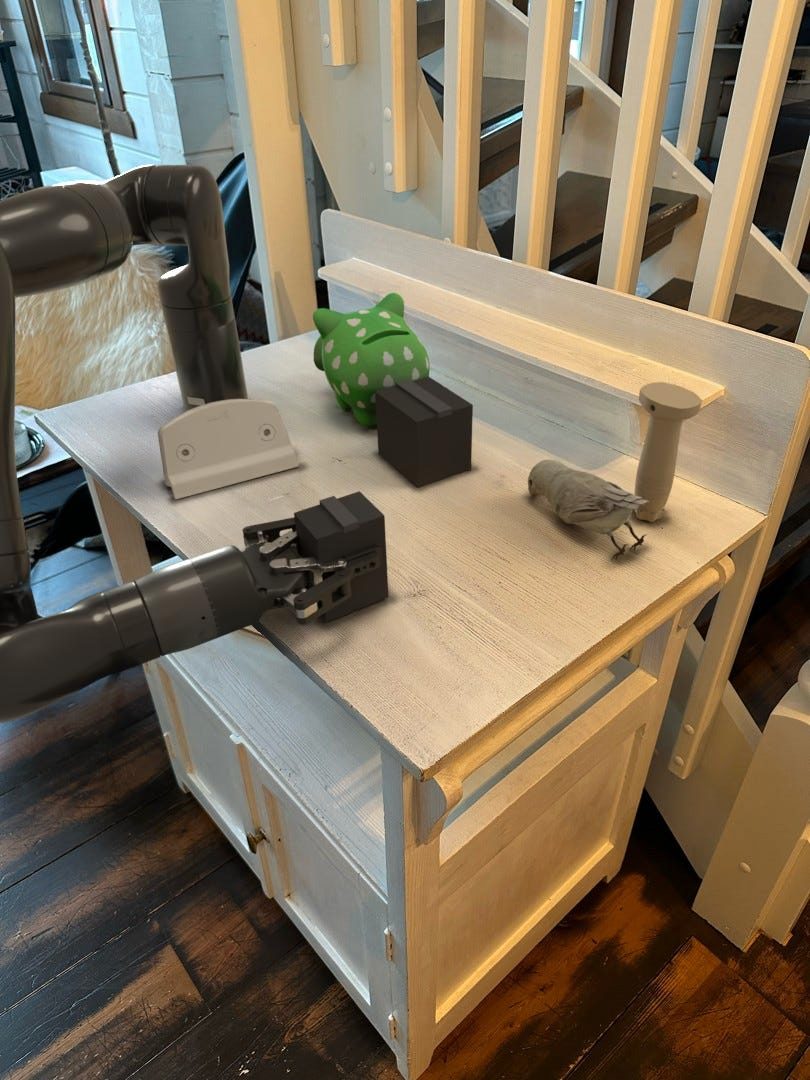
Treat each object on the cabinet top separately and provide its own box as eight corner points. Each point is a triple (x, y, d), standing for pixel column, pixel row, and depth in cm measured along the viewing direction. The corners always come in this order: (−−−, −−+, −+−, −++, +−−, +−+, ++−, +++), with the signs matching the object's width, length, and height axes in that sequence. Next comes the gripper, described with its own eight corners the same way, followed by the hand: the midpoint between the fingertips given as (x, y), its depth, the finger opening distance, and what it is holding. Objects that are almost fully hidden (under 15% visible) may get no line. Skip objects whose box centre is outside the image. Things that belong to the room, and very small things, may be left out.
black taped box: (378, 453, 100) (374, 388, 95) (429, 437, 103) (428, 373, 98) (417, 487, 93) (416, 419, 88) (471, 469, 96) (473, 401, 91)
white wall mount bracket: (172, 500, 92) (149, 419, 89) (167, 494, 96) (144, 416, 93) (301, 465, 98) (283, 388, 95) (291, 461, 102) (273, 387, 99)
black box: (304, 593, 77) (292, 508, 71) (365, 570, 80) (359, 487, 73) (326, 622, 73) (316, 535, 67) (389, 597, 76) (384, 511, 70)
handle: (653, 535, 84) (678, 412, 75) (612, 508, 88) (630, 389, 79) (684, 521, 86) (711, 400, 77) (642, 496, 90) (663, 378, 81)
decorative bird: (547, 488, 92) (553, 433, 88) (651, 552, 81) (663, 493, 77) (513, 503, 90) (517, 447, 85) (616, 571, 79) (626, 511, 75)
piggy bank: (387, 376, 120) (382, 281, 111) (448, 420, 107) (449, 316, 99) (304, 398, 115) (293, 299, 106) (359, 447, 102) (351, 339, 93)
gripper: (217, 614, 60) (402, 545, 67) (165, 526, 70) (330, 474, 77) (233, 680, 64) (404, 609, 71) (182, 588, 74) (336, 534, 81)
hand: (365, 539), depth 74 cm, fingers closed on black box, 5 cm apart
